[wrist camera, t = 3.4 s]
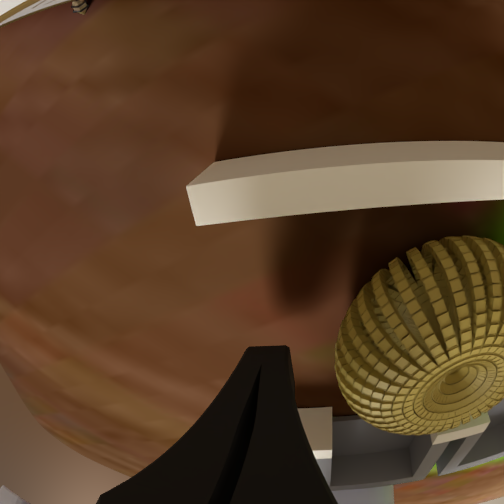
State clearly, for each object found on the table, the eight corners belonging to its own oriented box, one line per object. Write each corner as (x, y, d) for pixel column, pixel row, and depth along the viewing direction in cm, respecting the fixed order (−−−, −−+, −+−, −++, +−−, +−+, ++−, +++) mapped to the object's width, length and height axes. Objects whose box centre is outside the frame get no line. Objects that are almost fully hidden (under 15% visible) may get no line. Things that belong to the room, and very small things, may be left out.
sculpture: (548, 218, 5) (563, 376, 7) (474, 168, 8) (526, 314, 10) (278, 391, 8) (397, 468, 10) (288, 301, 11) (388, 398, 14)
